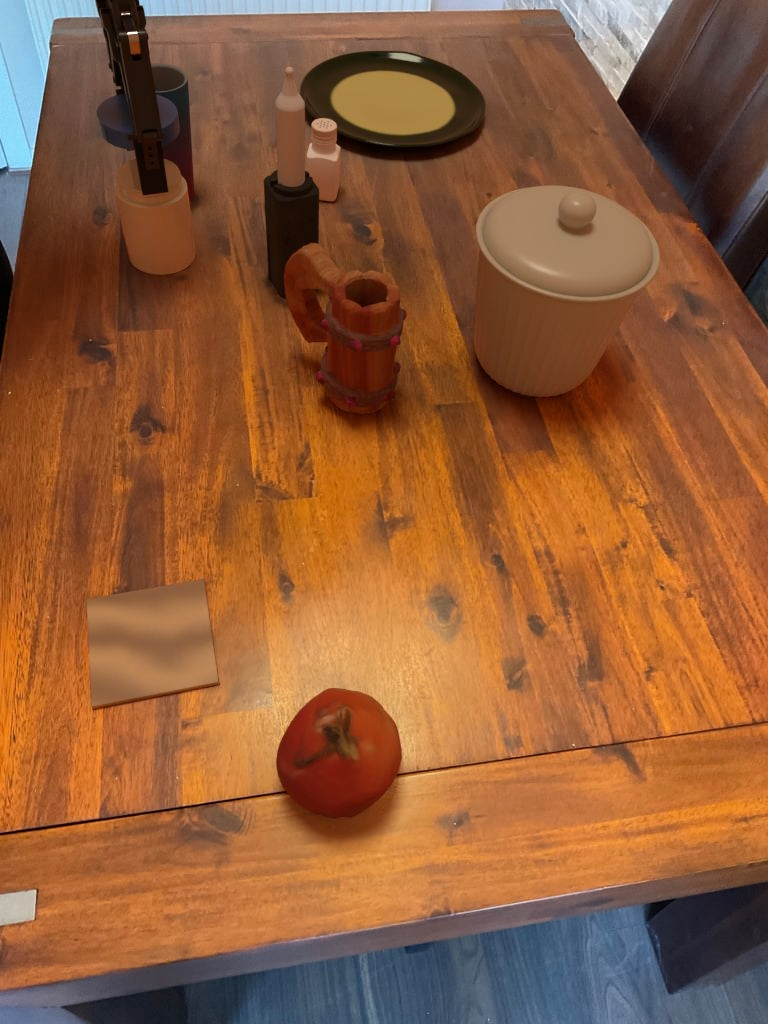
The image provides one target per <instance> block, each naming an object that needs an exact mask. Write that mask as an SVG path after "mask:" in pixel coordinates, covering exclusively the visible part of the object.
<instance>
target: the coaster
mask: <svg viewBox="0 0 768 1024" xmlns="http://www.w3.org/2000/svg"><path fill="white" fill-rule="evenodd" d="M85 602H86V618H87V619H86V620H87V623H86V624H87V642H88V644H87V645H88V662H89V663H88V666H89V685H90V706H91V708H92V710H95V709H100V708H104V707H105V708H106V707H110V706H115V705H119V704H125V703H130V702H135V701H141V700H145V699H150V698H155V697H161V696H165V695H171V694H177V693H181V692H186V691H191V690H192V691H193V690H197V689H203V688H206V687H213V686H217V685H219V684H220V680H219V672H218V666H217V658H216V652H215V646H214V645H215V644H214V638H213V630H212V623H211V617H210V609H209V604H208V596H207V590H206V582H205V579H204V578H202V579H201V578H200V579H195V580H189V581H184V582H178V583H171V584H165V585H160V586H155V587H149V588H143V589H137V590H130V591H125V592H119V593H113V594H106V595H101V596H95V597H89V598H86V601H85Z"/></svg>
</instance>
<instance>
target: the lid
mask: <svg viewBox="0 0 768 1024" xmlns="http://www.w3.org/2000/svg"><path fill="white" fill-rule="evenodd" d="M156 97H157V103H158V109H159V115H160V121H161V127H162V131H163V133H164V136H163V137H164V139H163V140H162V141H161V144H162V146H165V145H167V144H169V143H171V142H172V141H173V140H174V139H175V138H176V137H177V136H178V134H179V131H180V127H179V119H178V111H177V108H176V106H175V105H174V104H173V103H172V102H171V101H170V100H168V99H167V98H165V97H162V96H160V95H156ZM96 118H97V123H98V124H97V125H98V128H99V133H100V135H101V137H102V139H103V140H104V141H106V143H108V144H109V145H112V146H114V147H117V148H119V149H123V150H126V151H127V150H132V151H135V150H134V145H133V140H131V141H128V139H127V135H126V134H128V133H133V132H132V131H133V127H132V122H131V117H130V113H129V108H128V103H127V98H126V94H125V93H123V94H119V95H116V94H115V95H113V96H110V97H108V98H107V99H105V100H103V101H102V102H101V103H99V105H98V107H97V109H96Z"/></svg>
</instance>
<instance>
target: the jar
mask: <svg viewBox="0 0 768 1024" xmlns="http://www.w3.org/2000/svg"><path fill="white" fill-rule="evenodd" d="M164 165H165V172H166V178H167V185H168V192H166V193H159V194H151V195H144V196H143V194H142V190H141V184H140V179H139V173H138V167H137V162H136V158H133V159H130V160H128V161H126V162H125V163H123V164H122V165H121V166H120V167H119V169H118V170H117V172H116V181H115V183H114V186H113V187H114V188H113V189H114V194H115V199H116V205H117V210H118V213H119V219H120V222H121V228H122V232H123V237H124V241H125V246H126V252H127V255H128V260H129V262H130V264H131V265H132V266H133V267H134V268H135V269H137V270H138V271H140V272H143V273H146V274H150V275H156V276H165V275H173V274H177V273H180V272H182V271H183V270H185V269H187V268H189V267H190V266H191V265H192V264H193V263H194V261H195V259H196V256H197V249H196V242H195V241H196V240H195V234H194V225H193V219H192V211H191V202H190V201H189V195H188V187H187V183H186V181H185V179H184V178H183V177H182V176H181V173H180V170H179V168H178V167H177V166H176V165H175V164H174V163H173V162H171V161H169V160H166V159H164Z"/></svg>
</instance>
